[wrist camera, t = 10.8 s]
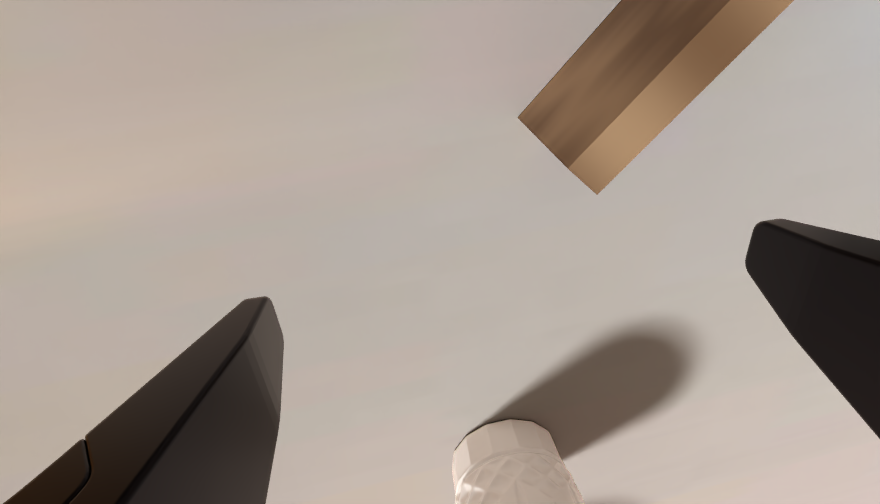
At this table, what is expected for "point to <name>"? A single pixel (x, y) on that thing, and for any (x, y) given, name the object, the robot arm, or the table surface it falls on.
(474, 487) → the white cup
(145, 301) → the table surface
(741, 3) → the tan hinge leaf
